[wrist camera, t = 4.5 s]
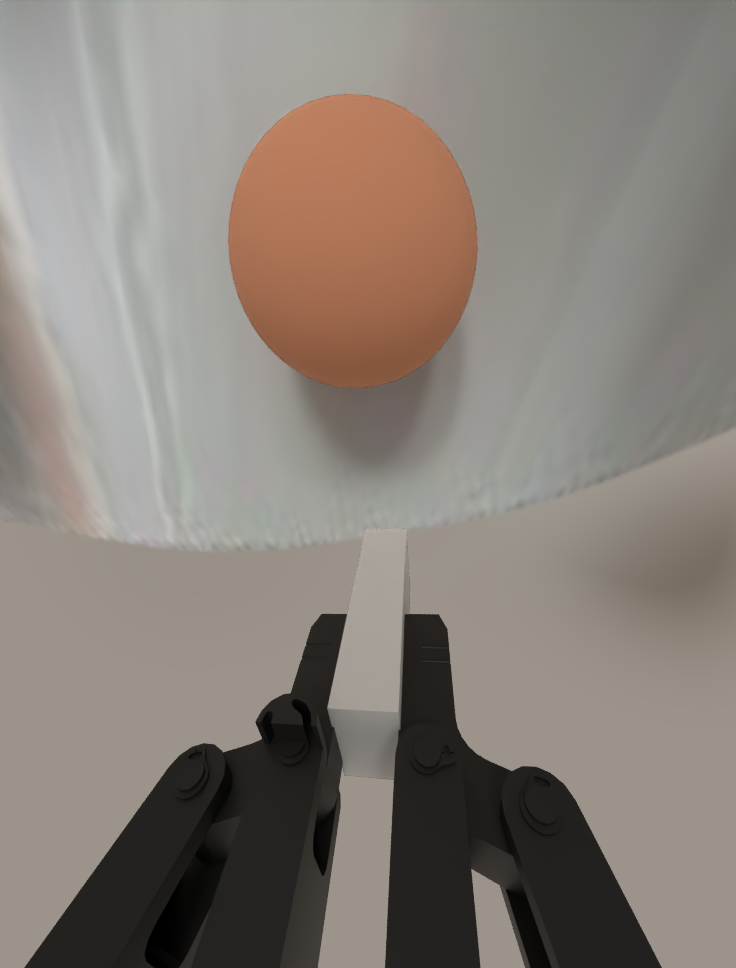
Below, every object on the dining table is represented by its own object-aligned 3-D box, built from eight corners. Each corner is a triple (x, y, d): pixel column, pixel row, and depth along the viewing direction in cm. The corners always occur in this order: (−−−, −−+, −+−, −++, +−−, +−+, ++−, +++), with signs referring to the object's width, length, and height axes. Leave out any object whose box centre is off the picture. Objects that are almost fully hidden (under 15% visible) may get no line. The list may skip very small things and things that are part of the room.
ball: (259, 170, 10) (115, 59, 5) (463, 133, 9) (515, -39, 4) (297, 373, 13) (224, 424, 8) (461, 358, 12) (492, 407, 7)
